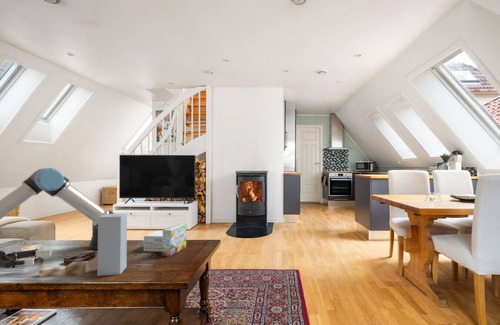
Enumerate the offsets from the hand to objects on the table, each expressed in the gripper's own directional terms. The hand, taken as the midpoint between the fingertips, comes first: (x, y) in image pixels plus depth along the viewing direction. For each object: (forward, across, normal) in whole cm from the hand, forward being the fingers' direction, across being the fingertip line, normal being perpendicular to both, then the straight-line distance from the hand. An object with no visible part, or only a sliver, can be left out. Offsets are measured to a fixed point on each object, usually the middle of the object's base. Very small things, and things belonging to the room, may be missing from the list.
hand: (42, 256), depth 127 cm
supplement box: (+46, -39, -9) cm, 61 cm away
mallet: (+9, 0, -9) cm, 12 cm away
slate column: (+31, 0, -9) cm, 32 cm away
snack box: (+57, -29, -9) cm, 64 cm away
